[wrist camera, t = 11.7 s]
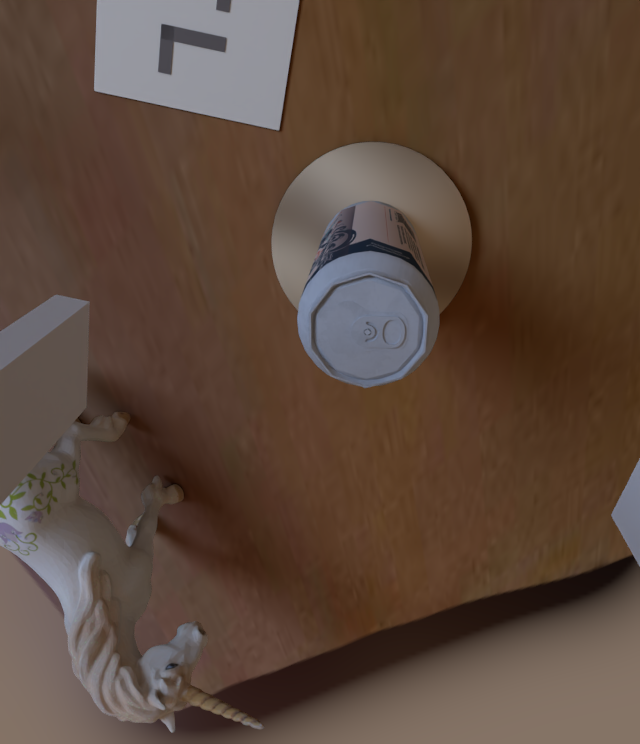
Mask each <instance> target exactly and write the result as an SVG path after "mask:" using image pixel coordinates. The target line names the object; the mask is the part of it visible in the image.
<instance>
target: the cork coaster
mask: <svg viewBox="0 0 640 744" xmlns="http://www.w3.org/2000/svg"><path fill="white" fill-rule="evenodd" d="M362 201H379V202H383V203H386V204H389V205H391V206H393V207H395V208H397V209H398V210H400V211H401V212H402V213H403V214H404V215H405V216H406V217H407V218H408V220H409V221H410V222H411V224H412V225H413V227H414V230H415V232H416V235H417V238H418V241H419V244H420V247H421V250H422V253H423V257H424V260H425V263H426V266H427V269H428V272H429V276H430V279H431V282H432V285H433V288H434V291H435V295H436V298H437V301H438V306H439V314H440V313H441V312H442V311H443V310H444V309H445V308H446V307H447V306H448V305H449V304H450V302H451V301H452V299H453V298H454V296H455V295H456V294H457V292H458V290H459V288H460V286H461V284H462V283H463V280H464V278H465V275H466V272H467V270H468V266H469V262H470V257H471V248H472V230H471V224H470V219H469V215H468V212H467V208H466V205H465V203H464V201H463V199H462V197H461V194H460V192H459V191H458V189H457V188H456V186H455V185H454V183H453V182H452V180H451V179H450V178H449V177H448V176H447V175H446V174H445V172H444V171H443V170H442V169H441V168H440V167H438V166H437V165H436V164H435V163H434V162H433V161H431V160H430V159H428V158H427V157H425V156H424V155H422V154H420V153H418V152H416V151H414V150H412V149H409V148H407V147H404V146H400V145H397V144H393V143H386V142H361V143H354V144H350V145H346V146H343V147H340V148H337V149H335V150H333V151H330V152H328V153H326V154H325V155H323V156H321V157H320V158H318V159H316V160H315V161H314V162H313V163H311V164H310V165H309V166H308V167H306V168H305V169H304V170H303V171H302V172H301V173H300V174H299V176H298V177H297V178H296V179H295V180H294V181H293V183H292V184H291V185H290V187H289V188H288V190H287V191H286V193H285V195H284V197H283V199H282V200H281V202H280V205H279V208H278V210H277V213H276V216H275V220H274V225H273V231H272V257H273V263H274V267H275V271H276V274H277V277H278V280H279V282H280V284H281V286H282V289H283V291H284V292H285V294H286V295H287V297H288V299H289V300H290V301H291V303H292V304H293V305H294V306H295V308H296V309H297V310H298V308H299V302H300V299H301V296H302V293H303V290H304V287H305V285H306V282H307V279H308V276H309V273H310V271H311V268H312V265H313V262H314V259H315V257H316V254H317V251H318V248H319V245H320V243H321V240H322V237H323V234H324V232H325V230H326V228H327V226H328V224H329V223H330V222H331V220H332V219H333V218H334V217H335V215H336V214H337V213H339V212H340V211H341V210H342V209H344V208H346V207H348V206H350V205H352V204H355V203H358V202H362Z"/></svg>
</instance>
